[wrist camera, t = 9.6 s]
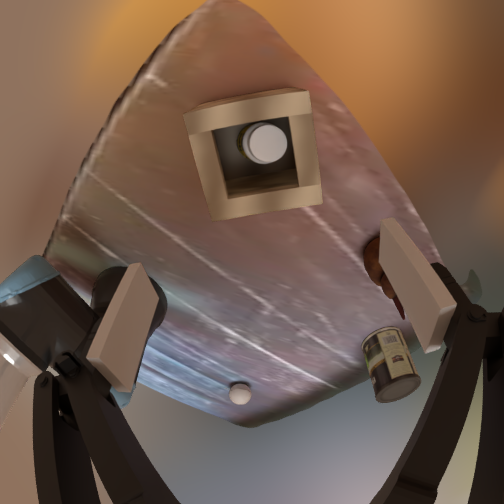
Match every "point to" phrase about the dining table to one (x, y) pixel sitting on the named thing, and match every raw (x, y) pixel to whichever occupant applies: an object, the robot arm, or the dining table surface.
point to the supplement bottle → (262, 143)
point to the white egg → (240, 394)
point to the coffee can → (390, 365)
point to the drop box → (249, 172)
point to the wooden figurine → (380, 273)
